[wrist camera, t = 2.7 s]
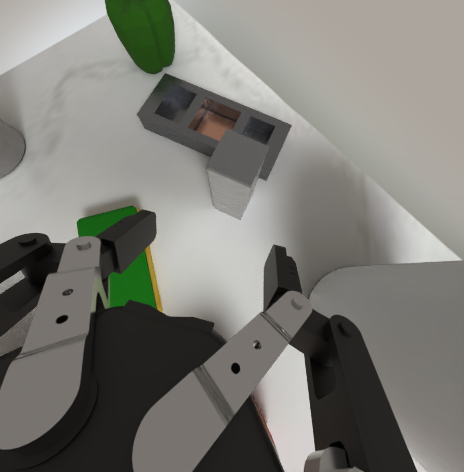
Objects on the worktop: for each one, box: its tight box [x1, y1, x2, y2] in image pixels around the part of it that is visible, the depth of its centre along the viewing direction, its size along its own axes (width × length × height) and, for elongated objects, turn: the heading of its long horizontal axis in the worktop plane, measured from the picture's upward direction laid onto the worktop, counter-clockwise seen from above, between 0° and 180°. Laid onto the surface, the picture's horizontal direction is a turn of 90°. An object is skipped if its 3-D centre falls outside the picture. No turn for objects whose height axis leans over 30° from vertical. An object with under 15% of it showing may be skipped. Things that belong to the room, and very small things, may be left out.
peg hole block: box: [137, 73, 292, 181], centre depth 26 cm, size 20×8×2 cm, turn 65°
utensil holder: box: [308, 261, 464, 472], centre depth 14 cm, size 15×15×18 cm
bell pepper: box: [105, 0, 175, 74], centre depth 24 cm, size 8×8×10 cm
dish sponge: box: [77, 206, 163, 312], centre depth 22 cm, size 7×14×2 cm, turn 16°
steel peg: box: [206, 129, 270, 220], centre depth 20 cm, size 4×4×10 cm
